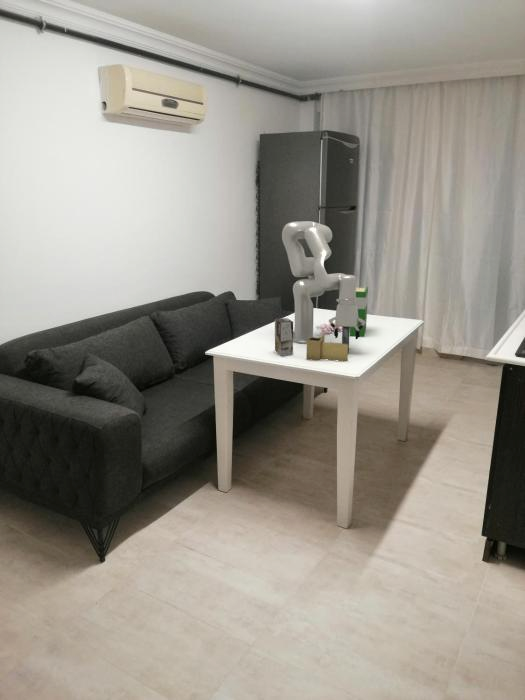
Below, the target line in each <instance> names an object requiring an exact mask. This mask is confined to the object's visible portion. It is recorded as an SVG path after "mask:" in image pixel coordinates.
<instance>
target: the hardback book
mask: <svg viewBox="0 0 525 700" xmlns="http://www.w3.org/2000/svg"><path fill="white" fill-rule="evenodd" d="M368 293H369V286H366V287H356V305H357V309H358V317H359V318H361V319H362V320H364V321H366V323H365V325H364V326H363V328H361V329H360V336H359V337H358V338H365V334H366V330H367V321H368V320H367V319H368V317H367V316H368V296H369V295H368ZM361 324H362V323H361V322H359V321H358V326H359V327H360V326H361ZM349 337H351V338H353V337H354V338H356V329H355V327H350V335H349Z"/></svg>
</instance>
